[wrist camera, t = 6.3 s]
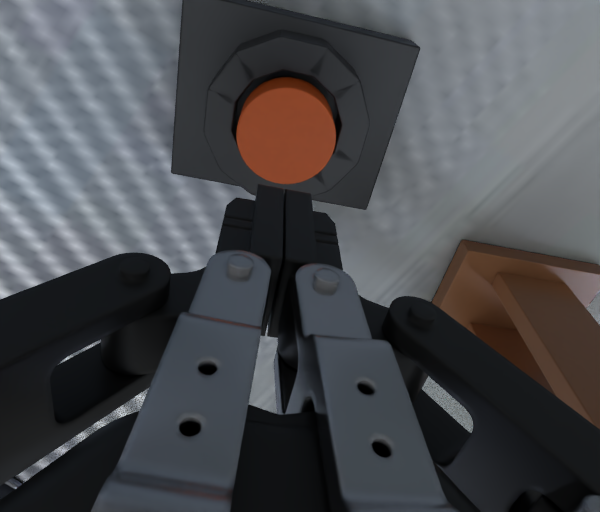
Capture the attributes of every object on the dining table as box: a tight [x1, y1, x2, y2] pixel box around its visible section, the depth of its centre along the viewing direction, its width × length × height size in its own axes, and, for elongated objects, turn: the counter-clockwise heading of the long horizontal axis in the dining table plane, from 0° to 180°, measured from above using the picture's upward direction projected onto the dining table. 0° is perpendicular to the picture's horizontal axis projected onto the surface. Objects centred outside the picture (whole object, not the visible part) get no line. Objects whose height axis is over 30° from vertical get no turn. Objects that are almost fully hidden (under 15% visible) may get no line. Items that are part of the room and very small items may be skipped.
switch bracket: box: [432, 240, 600, 429], centre depth 24 cm, size 9×7×13 cm
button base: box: [171, 0, 420, 210], centre depth 21 cm, size 10×8×4 cm
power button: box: [236, 77, 336, 184], centre depth 19 cm, size 4×4×2 cm
